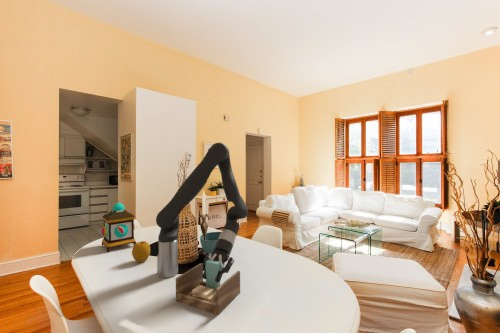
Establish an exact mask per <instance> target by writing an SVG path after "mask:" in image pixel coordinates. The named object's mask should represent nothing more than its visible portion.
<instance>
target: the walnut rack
mask: <svg viewBox="0 0 500 333" xmlns="http://www.w3.org/2000/svg"><path fill="white" fill-rule="evenodd" d="M203 273H204V266H203V263H202V262H201V263H198V264H197V265H195V266H194V267H192V268H190V269H189V270H187V271H185V272H183V273H182V274H181V275H178V276H177V277H176V278H175V302H177V303H180V304H183V305H186V306H189V307H192V308H196V309H198V310H202V311H205V312H209V313H211V314H213V315H218V316H219V315H221V313H222V312H223V311H224V310H225V309H226V308H228V306H230V304H231V303H232V302H233V301H234V300H235V299H236V298H237V297H238V296H239V295H240V294H241V271H240V270H236V272H235V273H233V274H232V275H231V276H230V277H229V278H227V279H226V280H225V281H224V282H223V283H220V286H219V287H218V288H217V289H216V290H214V292H215V293H216V301H215V302H214V303H212V302H209V301H205V300H202V299H198V298H195V297H192V295H193V294H192V290H193V289H194V288H196V287H198V286H199V285H202V286H205V287H206V280H205V281H204V278H203Z"/></svg>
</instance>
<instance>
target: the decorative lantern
mask: <svg viewBox="0 0 500 333" xmlns="http://www.w3.org/2000/svg"><path fill="white" fill-rule="evenodd" d="M101 218H102V220H103V227H102V228H101V234H102V236H103V239H102V240H101V246H102V247H105V248H106V251H107V253H110V250H111V248H115V247H120V246H125V245H131V244H132V245H133V247H134V245H135V244H136V243H137V241H136V238H135V234H134V233H135V228H136V227H135V219H136V216H135V215H134V214H133V213H131V212H129V211H127V210H126V209H125V205H124V204H122V203H121V202H117V203H116V204H115V205H113V207H112V209H111V211H109V212H108V213H105V214H103V216H102V217H101ZM103 245H104V246H103Z"/></svg>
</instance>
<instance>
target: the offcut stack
mask: <svg viewBox="0 0 500 333" xmlns="http://www.w3.org/2000/svg"><path fill="white" fill-rule="evenodd" d="M192 294H193V295H192V297H195V298H198V299H202V300H205V301H209V302H212V303H214V302H215V301H216V293H215V292H214V289H211V288H208V287H205V286H202V285H199V286H198V287H196V288H194V289H193V290H192Z"/></svg>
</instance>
